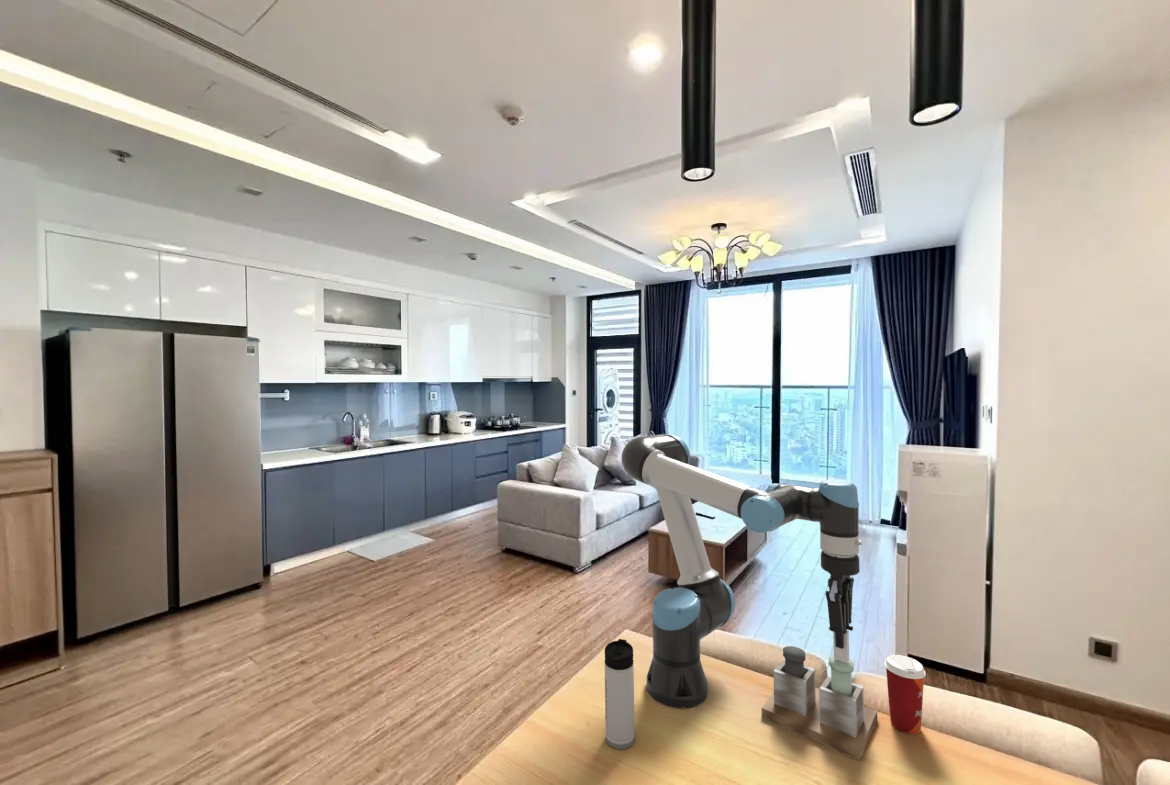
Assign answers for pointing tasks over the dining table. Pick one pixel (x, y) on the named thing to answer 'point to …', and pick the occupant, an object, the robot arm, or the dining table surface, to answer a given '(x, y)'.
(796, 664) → the gray plug
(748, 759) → the dining table surface
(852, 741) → the socket board
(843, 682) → the sage plug
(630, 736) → the travel mug
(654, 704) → the dining table surface
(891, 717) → the paper cup
